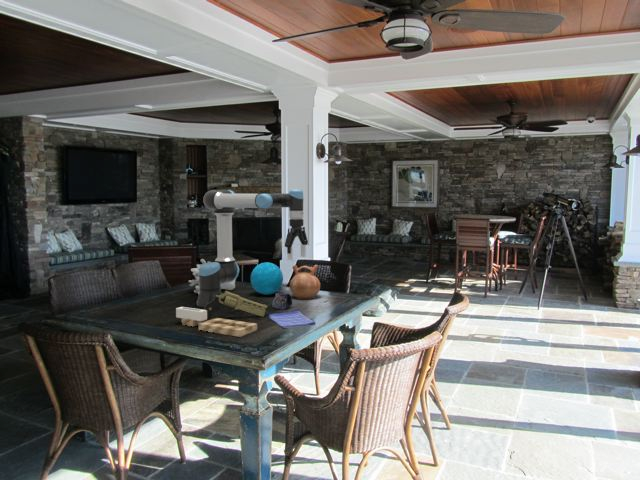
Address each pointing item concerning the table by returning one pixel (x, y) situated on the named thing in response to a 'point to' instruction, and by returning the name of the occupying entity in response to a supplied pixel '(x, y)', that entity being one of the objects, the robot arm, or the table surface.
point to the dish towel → (291, 319)
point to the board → (228, 327)
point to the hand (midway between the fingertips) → (296, 258)
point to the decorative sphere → (266, 278)
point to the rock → (282, 301)
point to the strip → (191, 314)
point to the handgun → (233, 305)
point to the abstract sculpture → (196, 273)
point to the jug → (304, 283)
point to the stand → (189, 322)
